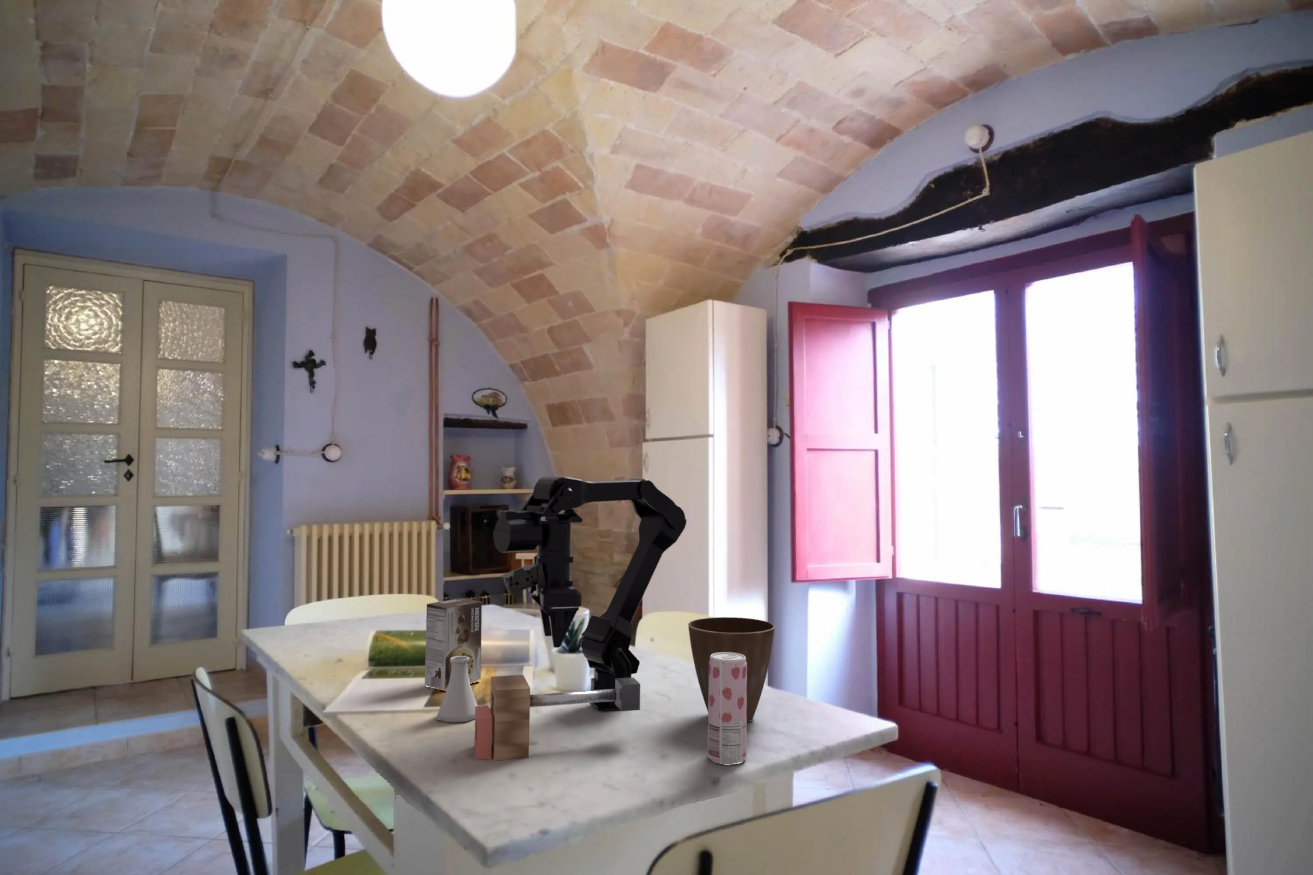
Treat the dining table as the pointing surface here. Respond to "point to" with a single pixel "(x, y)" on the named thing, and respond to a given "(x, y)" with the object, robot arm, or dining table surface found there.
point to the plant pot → (737, 638)
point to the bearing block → (510, 717)
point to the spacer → (483, 732)
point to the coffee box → (452, 639)
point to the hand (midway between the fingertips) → (552, 641)
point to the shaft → (595, 696)
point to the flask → (458, 694)
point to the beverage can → (727, 707)
